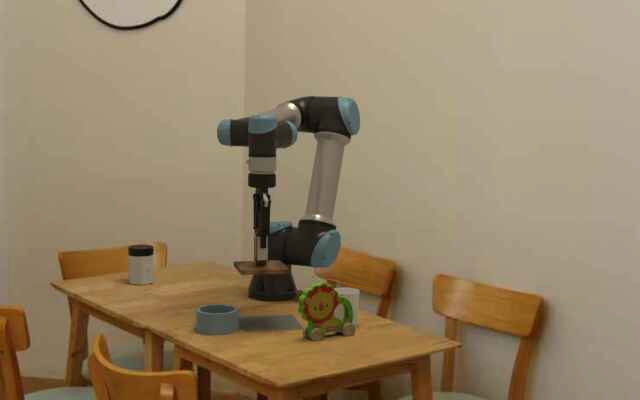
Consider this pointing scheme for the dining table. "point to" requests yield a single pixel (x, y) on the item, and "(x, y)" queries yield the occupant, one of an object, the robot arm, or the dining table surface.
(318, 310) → the toy lion
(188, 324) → the dining table surface
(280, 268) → the lid
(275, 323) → the mat
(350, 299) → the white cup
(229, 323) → the bowl
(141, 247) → the jar
